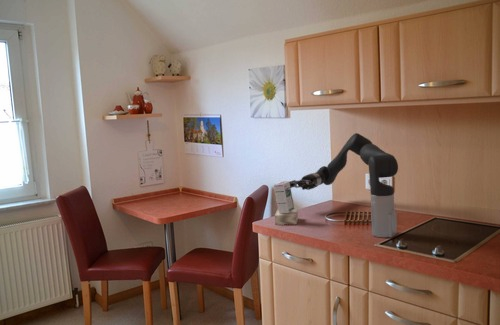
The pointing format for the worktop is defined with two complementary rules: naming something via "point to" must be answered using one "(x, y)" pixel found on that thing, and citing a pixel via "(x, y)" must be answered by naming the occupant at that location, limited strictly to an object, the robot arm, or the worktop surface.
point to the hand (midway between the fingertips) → (295, 187)
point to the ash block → (286, 218)
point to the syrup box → (284, 197)
